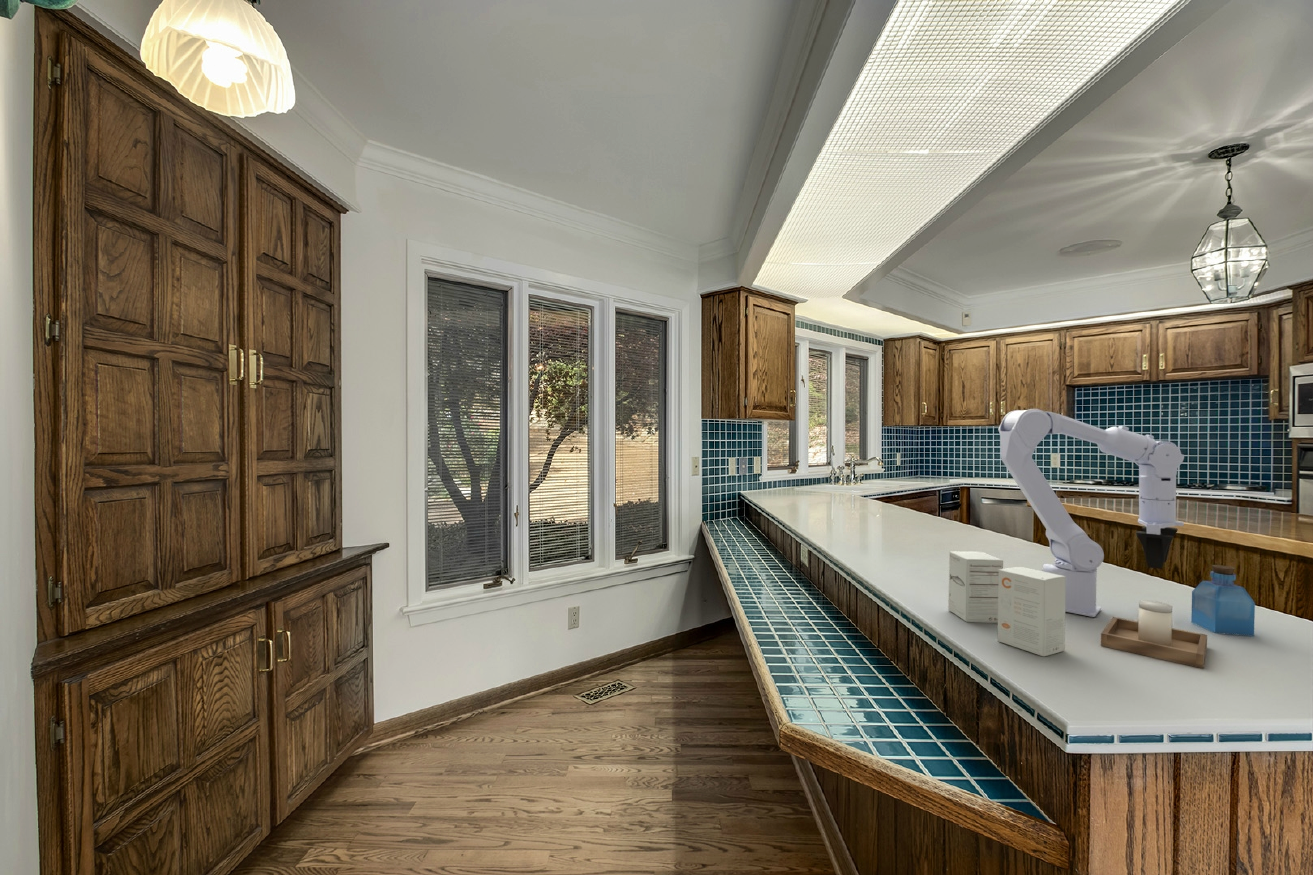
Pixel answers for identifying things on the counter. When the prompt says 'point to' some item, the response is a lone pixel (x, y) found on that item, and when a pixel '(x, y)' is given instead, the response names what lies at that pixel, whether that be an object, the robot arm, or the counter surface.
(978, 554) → the supplement box
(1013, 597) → the small box
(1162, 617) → the cylinder
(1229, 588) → the perfume bottle
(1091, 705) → the counter surface
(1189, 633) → the walnut tray
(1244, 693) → the counter surface
